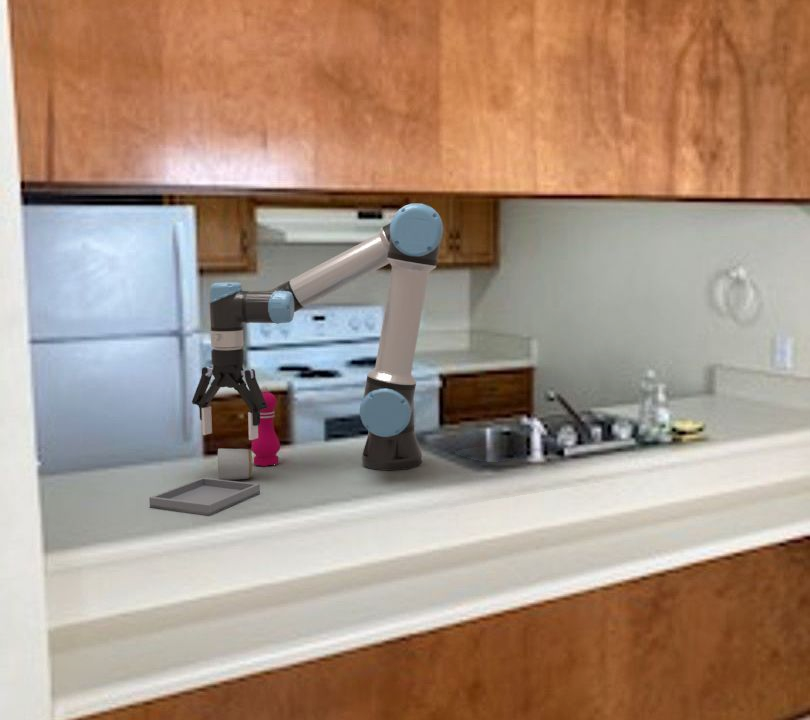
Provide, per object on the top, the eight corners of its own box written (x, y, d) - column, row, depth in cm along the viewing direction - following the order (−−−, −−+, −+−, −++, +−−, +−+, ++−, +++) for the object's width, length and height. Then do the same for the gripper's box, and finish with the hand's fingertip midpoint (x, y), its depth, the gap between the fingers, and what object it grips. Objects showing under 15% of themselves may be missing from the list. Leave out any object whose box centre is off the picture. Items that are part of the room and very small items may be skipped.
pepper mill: (285, 464, 233) (283, 386, 231) (259, 468, 229) (257, 388, 227) (272, 459, 239) (270, 383, 237) (247, 463, 235) (244, 385, 233)
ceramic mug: (253, 481, 217) (251, 449, 216) (218, 484, 215) (216, 452, 214) (251, 471, 227) (249, 441, 226) (217, 474, 225) (216, 443, 224)
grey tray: (260, 493, 206) (259, 484, 206) (209, 515, 190) (209, 505, 190) (203, 486, 213) (202, 477, 213) (149, 507, 197) (149, 497, 197)
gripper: (175, 347, 218) (178, 434, 221) (261, 352, 207) (264, 444, 210) (195, 344, 225) (198, 428, 228) (280, 348, 214) (282, 437, 217)
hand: (230, 436), depth 219 cm, fingers open, 13 cm apart
